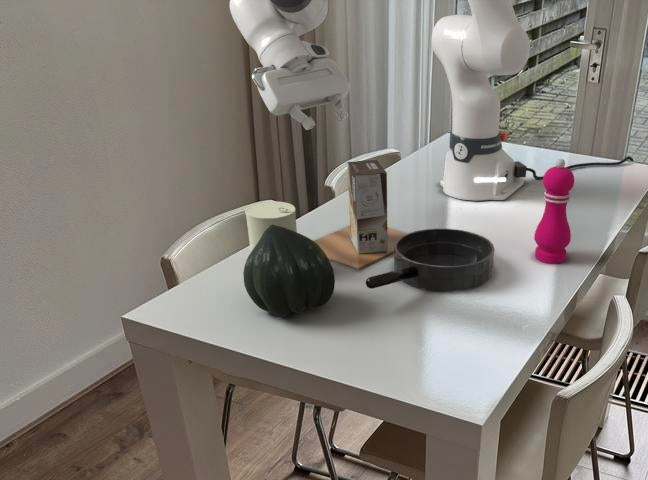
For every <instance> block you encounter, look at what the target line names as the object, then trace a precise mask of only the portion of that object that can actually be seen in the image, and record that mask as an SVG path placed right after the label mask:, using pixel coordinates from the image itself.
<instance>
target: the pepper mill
mask: <svg viewBox="0 0 648 480" xmlns="http://www.w3.org/2000/svg"><path fill="white" fill-rule="evenodd" d="M566 167H567V166H566V161H565V159H563V158H557V160H556V161H555V166H552V167H550V168H548V169H547V170H546V171H545V173H544V174H543V176H544V177H543V176H542V177H543V179H542V185H543V187H544V189H545V190H544V192H543V194H544V195H543V199H544V200H545V206H544V211H543V214H542V217H541V218H540V221H539V223H538V224H537V226H536V228H535V231H534V236H533V240H534V242H535V244H536V245H537V246H536V247H535V250H534V257H535V259H536V260H537V261H539V262H541V263H544V264H552V265H553V264H562V263H564V262H565V261H566V259H567V253H568V252H567V249H566V248H567V247H568V246H569V244H570V243H571V238H572V233H571V228H570V225H569V221H568V216H567V206H568V203H569V202H570V200H571V198H570V196H571V192H570V191H572V189H573V188H574V186H575V175H574V172H573V171H571V169H568V168H566Z"/></svg>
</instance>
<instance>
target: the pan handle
mask: <svg viewBox="0 0 648 480" xmlns="http://www.w3.org/2000/svg"><path fill="white" fill-rule="evenodd" d="M417 276H418V270H417V268H416V267H413V266H412V267H408V268H404V269H400V270H396V271H394V270H392V271H388V272H385V273H381V274H380V273H379V274H377V275H373V276H369V277H368V278H366V280H365V286H366V287H367V288H368V289H370V290H372V289H377V288H380V287H383V286H384V287H385V286H387V285H392V284H395V283H400V282H403V280H407V279H410V278H414V277H417Z"/></svg>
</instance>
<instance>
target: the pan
mask: <svg viewBox="0 0 648 480" xmlns="http://www.w3.org/2000/svg"><path fill="white" fill-rule="evenodd" d="M495 251H496V250H495V246H494V244H493V242H492V241H491V240H489V239H488V238H487V237H485V236H483V235H480V234H478V233H476V232H475V233H474V232H471V231H468V230H463V229H456V228H455V229H454V228H427V229H420V230H416V231H412V232H408V233H406V235H404V236H402V237H400V238H399V239H398V240H397V241H396V242H395V244H394V253H393V258H394V259H393V260H394V261H393V265H394V267H393V268H394V269H393V271H396V270H400V269H404V268H408V267H412V266H413V267H416V268H417V270H418V276H417V277H414V278H410V279H407V280H403V281H402V282H403V283H405V284H407V285H409V286H412V287H414V288H418V289H422V290H426V291H434V292H458V291H467V290H470V289H475V288H477V287H480V286H483V285H484V284H486V283H487V282H489V281H490V280H491V279H492V278H493V275H494V266H495V265H494V264H495Z"/></svg>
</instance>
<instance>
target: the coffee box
mask: <svg viewBox="0 0 648 480" xmlns="http://www.w3.org/2000/svg"><path fill="white" fill-rule="evenodd" d="M346 163H347V188H348V209H349V226H350V235H351V240H352V242H353V244H354V246H355V248H356V250H357V252H358V254H363V253H374V252H386V251H387V250H388V232H387V228H388V172H387V171H386V170H385V169H384V167H383V166H382V165H381V163H380V161H378V159H369V160H368V159H367V160H365V159H364V160H356V161H347V162H346Z"/></svg>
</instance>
